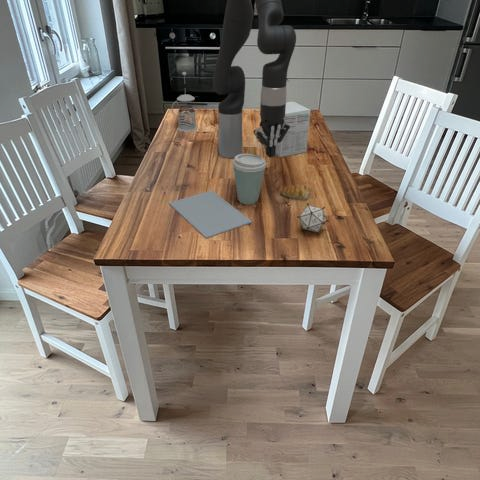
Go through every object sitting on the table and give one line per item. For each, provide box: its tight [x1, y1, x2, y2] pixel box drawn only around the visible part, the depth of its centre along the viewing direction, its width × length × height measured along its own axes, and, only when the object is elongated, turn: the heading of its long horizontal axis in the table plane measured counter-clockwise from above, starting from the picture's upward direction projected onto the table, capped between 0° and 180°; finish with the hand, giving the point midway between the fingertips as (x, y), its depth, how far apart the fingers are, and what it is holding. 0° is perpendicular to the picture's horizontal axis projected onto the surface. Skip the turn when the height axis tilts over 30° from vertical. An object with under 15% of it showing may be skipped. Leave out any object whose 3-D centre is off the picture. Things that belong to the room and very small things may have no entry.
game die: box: [296, 202, 329, 236], centre depth 119 cm, size 9×8×10 cm
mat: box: [168, 190, 253, 239], centre depth 129 cm, size 24×16×1 cm, turn 34°
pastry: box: [280, 184, 310, 201], centre depth 139 cm, size 9×7×4 cm
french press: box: [171, 71, 199, 133], centre depth 186 cm, size 10×12×25 cm
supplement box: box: [264, 101, 312, 158], centre depth 168 cm, size 13×13×18 cm
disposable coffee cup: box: [232, 153, 267, 205], centre depth 132 cm, size 11×11×15 cm
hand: (270, 156), depth 132 cm, fingers closed
